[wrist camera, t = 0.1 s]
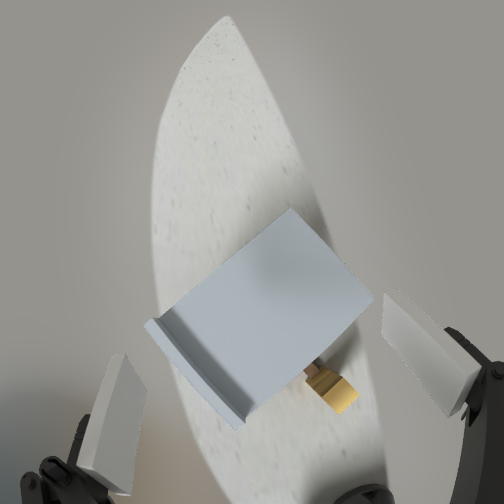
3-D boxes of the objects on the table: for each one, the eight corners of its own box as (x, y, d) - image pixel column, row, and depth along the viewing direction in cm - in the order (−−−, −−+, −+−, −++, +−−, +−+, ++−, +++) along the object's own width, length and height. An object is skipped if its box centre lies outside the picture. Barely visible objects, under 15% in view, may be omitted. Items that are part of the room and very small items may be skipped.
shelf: (323, 305, 48) (393, 284, 23) (242, 376, 45) (235, 431, 20) (278, 256, 51) (305, 189, 25) (197, 325, 47) (143, 325, 22)
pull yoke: (356, 359, 46) (386, 367, 34) (296, 415, 43) (309, 440, 32) (262, 255, 51) (266, 234, 39) (198, 309, 48) (183, 304, 36)
